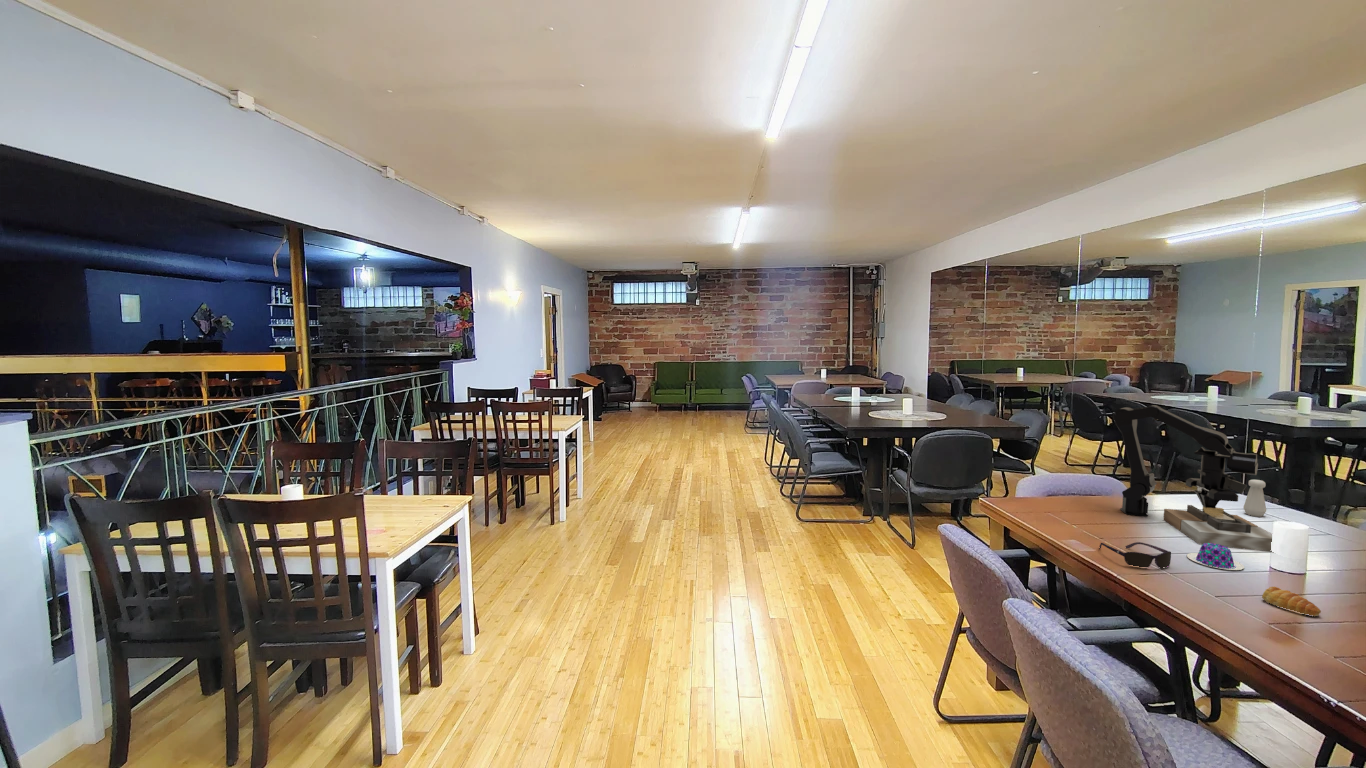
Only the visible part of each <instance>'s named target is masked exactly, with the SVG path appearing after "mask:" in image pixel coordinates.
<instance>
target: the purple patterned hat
mask: <svg viewBox="0 0 1366 768" xmlns="http://www.w3.org/2000/svg"><path fill="white" fill-rule="evenodd" d="M1232 554H1233V553H1232V551H1231V549H1230V547H1226V546H1222V545H1219V544H1213V543H1204V544H1201V546H1200V548H1199V550H1198V552H1190V553H1189V552H1188V553H1187V554H1186V557H1187V558H1188V559H1190V561H1193V562H1195V563H1198V564H1200V565H1204V566H1206V567H1211V568H1216V569H1220V570H1225V569H1226V570H1227V571H1239V570H1244V569H1245V565H1244V564H1242V563H1241V562H1238V561H1237V560H1235V559H1233V555H1232ZM1199 561H1200V562H1199ZM1201 562H1202V563H1201ZM1234 564H1235V565H1236V566H1237V567H1236V568H1235V566H1234ZM1208 565H1209V566H1208ZM1212 566H1213V567H1212ZM1218 567H1219V568H1218ZM1228 568H1229V569H1228ZM1232 568H1235V569H1232Z"/></svg>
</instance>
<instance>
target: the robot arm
mask: <svg viewBox="0 0 1366 768" xmlns="http://www.w3.org/2000/svg"><path fill="white" fill-rule="evenodd" d="M1145 418H1153V419H1155V420H1157V421H1158V422H1161V423H1162V424H1165V425H1167V426H1169V427H1171V428H1173V429H1176V430H1177V431H1179V432H1181V433H1184V434H1185V435H1188V436H1189V437H1190V438H1191V439H1193V440H1194V441H1195V442H1197V444H1198V445H1200V446H1202V447H1200V448H1199V449H1198V450H1196V451H1194V453H1193V454H1194V455H1196V456H1197V455H1199V456H1201V464H1200V469H1197V473H1198V474H1200V476H1199V477H1200V478H1198V477H1194V478H1193V477H1188V478H1187V479H1185V486H1187V487H1189V488H1193V487H1197V489H1196V490H1194V493H1195V494H1196V496H1197V498H1198V499H1199V501H1200V504H1201V506H1202V508H1203V507H1217V505H1218V504H1219V502H1220V501H1223V502H1224V501H1225V502H1234V503H1235V502H1239V495H1238V494H1237V493H1239V494H1243V493H1244V492H1245V489H1246V488H1247V487H1248V485H1247V484H1244V483H1242V482H1240V481H1237V480H1236V477H1234V476H1232V475H1229V474H1227V473H1226V472H1225V469H1226V468H1227V469H1228V470H1230V472H1232V473H1237V474H1238V473H1239V474H1244V475H1251V476H1252V475H1253V476H1257V474H1258V468H1259V463H1258V454H1257V453H1246V452H1237V451H1236V450H1235V449H1234V448H1233V447H1232V445H1231V444H1230V443H1229V439H1228V436H1227V435H1226V434H1225V433H1223V432H1221V431H1217V430H1215V429H1211V428H1207V427H1203V426H1200V425H1197V424H1195V423H1193V422H1190V421H1189V420H1187V419H1185V418H1183V417H1181V416H1178V415H1177V414H1175V413H1173V412H1170V411H1168V410H1166V409H1164V408H1162V407H1160V406H1159V405H1157V404H1154V405H1153V404H1152V405H1149V406H1145V407H1138V408H1131V407H1129V406H1128V407H1127V406H1126V407H1121V408H1118V409H1116V410H1115V411H1114V412H1113V414H1112V419H1113V421H1114V423H1115V425H1116V427H1117V428H1118V429H1117V430H1119V432H1120V433H1121V435H1122V441H1123V443H1124V447H1125V452H1126V456H1127V459H1128V464H1129V468H1130V477H1129V487H1128V488H1126V489H1124V490H1123V491H1121V493H1122V503H1121V504H1122V505H1121V507H1120V508H1119V511H1121V512H1123V513H1124V514H1125V515H1129V516H1141V517H1149V514H1148V513H1149V511H1148V510H1149V502H1148V499H1147V498H1146V497H1147V495H1148V494H1151V493H1153V491H1154V490H1155V488H1156V485H1157V484H1158V483H1157V481H1156V480H1155V474H1154V473H1149V472H1148V470H1147V468H1146V466H1145V460H1144V457H1143V453H1142V448H1141V446H1140V445H1141V444H1140V441H1139V436H1138V433H1137V429H1138V428H1137V427H1138V420H1141V419H1145ZM1226 459H1227V460H1226ZM1226 461H1227V462H1226ZM1225 467H1226V468H1225ZM1232 490H1233V491H1232ZM1234 491H1235V492H1234ZM1236 492H1237V493H1236Z"/></svg>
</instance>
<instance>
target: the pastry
mask: <svg viewBox="0 0 1366 768" xmlns="http://www.w3.org/2000/svg"><path fill="white" fill-rule="evenodd" d="M1261 598H1262V600H1263V601H1265V602H1266V603H1267V602H1268V603H1267V604H1269V603H1270V604H1269V605H1273V606H1275V605H1276V606H1279V607H1283V608H1286V609H1290V610H1294V611H1297V612H1300V613H1304V614H1309V615H1313V616H1314V617H1317V616H1319V615H1320V614H1322V610H1320V608H1319V607H1318V606H1317V605H1315V604H1314V603H1313V602H1312V601H1309V600H1308V599H1307V598H1304V597H1301V596H1300V595H1299V594H1298V593H1296V592H1291V591H1290V590H1288V589H1287V590H1286V589H1282V588H1280V587H1277V586H1269V587H1268V588H1266V589H1265V590H1264V592H1263V593H1262V596H1261ZM1276 606H1275V607H1276ZM1313 616H1312V617H1313Z"/></svg>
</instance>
